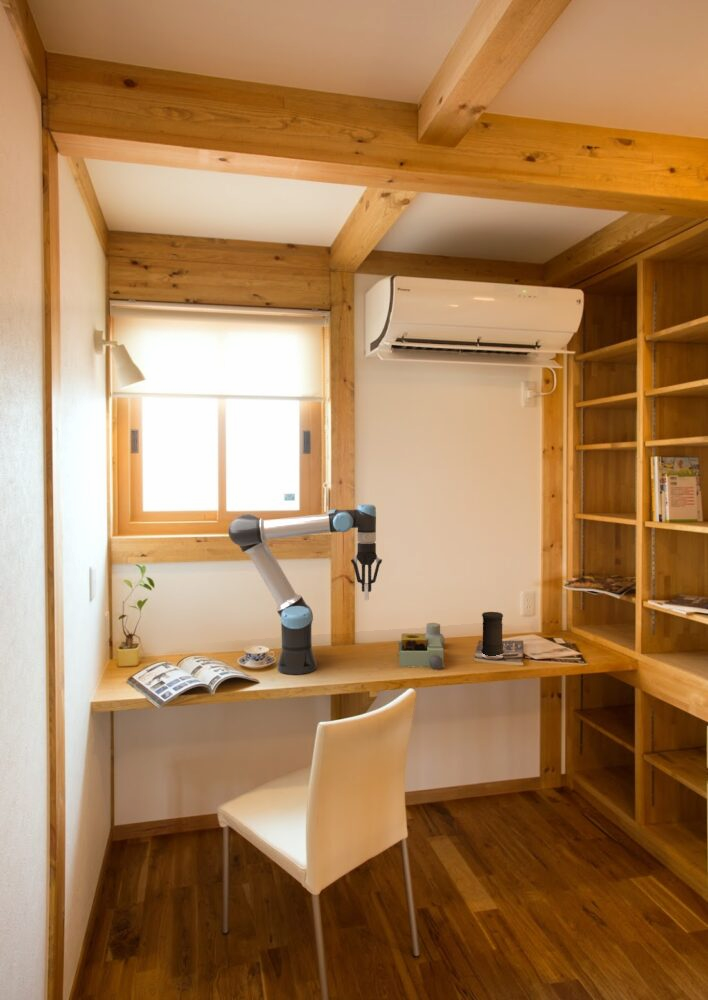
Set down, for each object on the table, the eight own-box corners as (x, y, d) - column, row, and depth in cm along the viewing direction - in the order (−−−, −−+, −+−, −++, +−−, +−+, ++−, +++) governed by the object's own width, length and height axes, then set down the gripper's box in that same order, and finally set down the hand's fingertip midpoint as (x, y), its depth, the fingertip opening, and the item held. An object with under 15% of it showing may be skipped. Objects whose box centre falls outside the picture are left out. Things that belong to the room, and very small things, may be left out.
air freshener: (445, 650, 276) (445, 627, 276) (426, 651, 275) (426, 627, 275) (439, 643, 287) (439, 620, 286) (421, 644, 286) (420, 621, 285)
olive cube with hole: (427, 664, 257) (427, 639, 256) (401, 664, 257) (401, 639, 257) (426, 657, 267) (425, 633, 266) (401, 656, 268) (401, 633, 267)
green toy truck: (399, 669, 251) (399, 649, 250) (398, 652, 273) (398, 634, 273) (443, 669, 250) (443, 649, 249) (439, 652, 272) (439, 634, 272)
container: (507, 656, 266) (507, 613, 265) (497, 661, 259) (497, 617, 258) (487, 652, 272) (488, 610, 271) (477, 657, 265) (477, 614, 264)
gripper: (349, 543, 262) (349, 601, 263) (382, 543, 261) (381, 601, 262) (351, 541, 269) (351, 597, 271) (383, 541, 268) (382, 598, 269)
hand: (366, 599), depth 266 cm, fingers closed
